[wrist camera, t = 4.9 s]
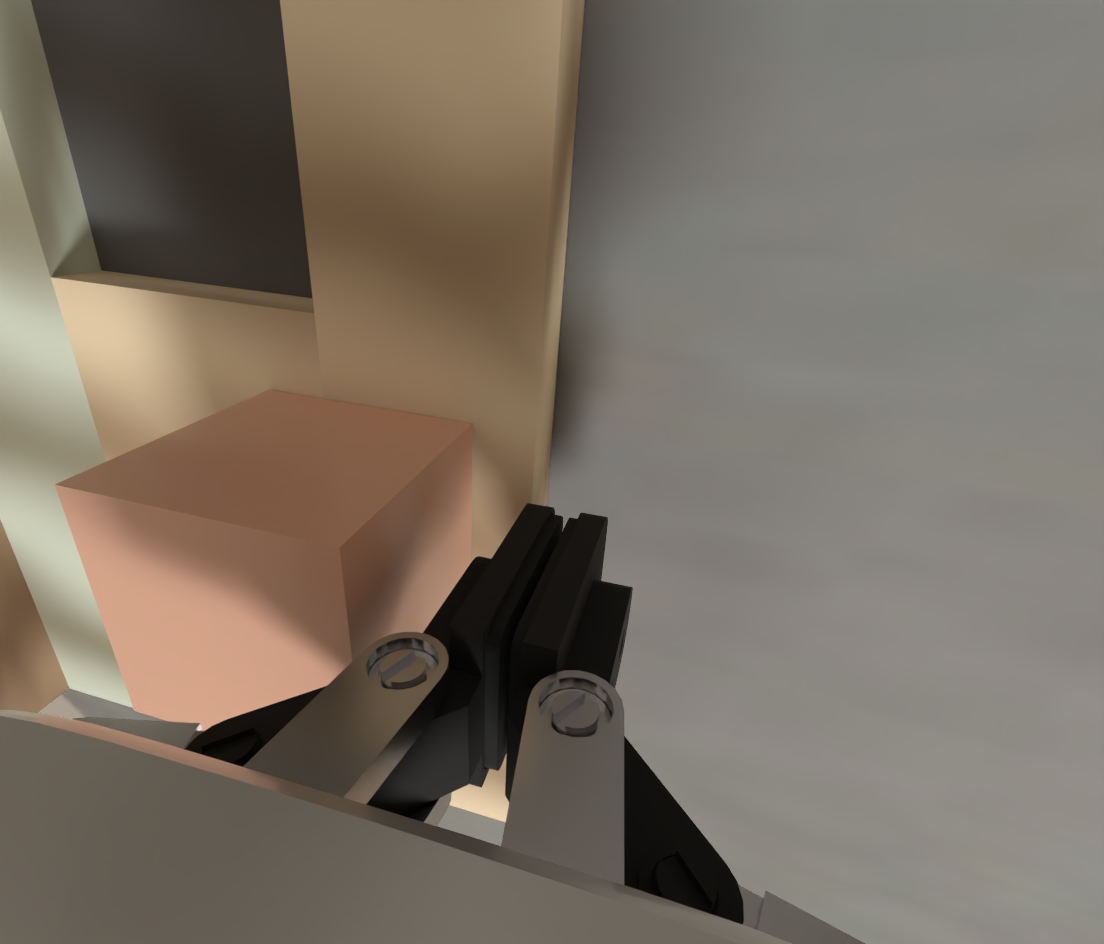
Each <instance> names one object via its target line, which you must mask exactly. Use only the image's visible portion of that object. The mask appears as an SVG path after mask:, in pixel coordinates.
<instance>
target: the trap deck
mask: <svg viewBox="0 0 1104 944" xmlns="http://www.w3.org/2000/svg"><path fill="white" fill-rule="evenodd" d="M584 5H585V0H0V710H20V711H27V712H34V713H38V712H39V711H40V710H42V709H43V708H44V707H45V706H47V705H48V704H49V703H51V702H52V701H53V700H54V699H56V698H57V697H59V696H60V695H61V694H62V693H64V692H65V691H66V690H68V689H69V688H71V689H74V690H77V691H80V692H84V693H87V694H90V695H93V696H97V697H100V698H103V699H106V700H110V701H113V702H116V703H119V704H123V705H126V706H129V707H132V708H133V705H132V703H131V700H130V697H129V694H128V691H127V688H126V686H125V683H124V680H123V677H122V674H121V671H120V669H119V666H118V663H117V660H116V657H115V655H114V652H113V649H112V646H111V643H110V640H109V638H108V635H107V632H106V629H105V626H104V623H103V621H102V618H101V615H100V612H99V609H98V606H97V604H96V601H95V598H94V595H93V592H92V589H91V587H90V584H89V581H88V578H87V575H86V572H85V570H84V567H83V564H82V561H81V558H80V555H79V553H78V550H77V547H76V544H75V541H74V538H73V536H72V533H71V530H70V527H69V524H68V522H67V519H66V516H65V513H64V510H63V507H62V505H61V502H60V499H59V496H58V493H57V490H56V488H55V485H54V484H57V483H59V482H61V481H63V480H66V479H68V478H70V477H73V476H75V475H77V474H79V473H82V472H84V471H86V470H88V469H91V468H93V467H95V466H97V465H100V464H102V463H104V462H106V461H109V460H111V459H113V458H115V457H118V456H120V455H122V454H124V453H127V452H129V451H131V450H133V449H136V448H138V447H140V446H142V445H145V444H147V443H149V442H151V441H154V440H156V439H158V438H160V437H163V436H165V435H167V434H169V433H172V432H174V431H176V430H178V429H181V428H183V427H185V426H187V425H190V424H192V423H194V422H197V421H199V420H201V419H203V418H206V417H208V416H210V415H212V414H215V413H217V412H219V411H221V410H224V409H226V408H228V407H230V406H233V405H235V404H237V403H239V402H242V401H244V400H246V399H248V398H251V397H253V396H255V395H257V394H260V393H262V392H264V391H266V390H275V391H281V392H287V393H293V394H299V395H306V396H312V397H318V398H324V399H330V400H336V401H342V402H348V403H354V404H360V405H366V406H372V407H378V408H384V409H390V410H396V411H402V412H408V413H414V414H420V415H426V416H432V417H438V418H444V419H450V420H456V421H462V422H468V423H472V552H471V562H472V561H473V560H474V558H475V557H478V556H480V557H485V558H490V559H492V557H493V556H494V554H495V552H496V551H497V549H498V548H499V546H500V545H501V543H502V541H503V540H504V538H505V537H506V535H507V534H508V532H509V530H510V529H511V527H512V526H513V524H514V523H515V521H516V520H517V518H518V516H519V515H520V513H521V512H522V510H523V509H524V507H525V505H526V504H527V503H531V504H536V505H542V506H547V494H548V480H549V467H550V454H551V441H552V428H553V414H554V401H555V388H556V375H557V362H558V348H559V335H560V322H561V309H562V296H563V282H564V269H565V256H566V243H567V230H568V216H569V203H570V190H571V177H572V164H573V150H574V137H575V124H576V111H577V98H578V84H579V71H580V58H581V45H582V32H583V18H584ZM505 782H506V756H505V758H504V761H503V763H502V766H501V768H500V769H499V770H498V771H496V770H493V769H489V771H488V774H487V776H486V779H485V781H484V784H483V786H482V788H481V787H478V786H474V785H471V784H469V785H467V786H464V787H462V788H460V789H458V790H456V791H454V792H452V796H451V802H450V804H449V805H451V806H455V807H458V808H461V809H464V810H468V811H471V812H474V813H477V814H481V815H484V816H487V817H490V818H494V819H497V820H500V821H503V822H506V818H507V812H508V807H509V801H508V800H507V798H506V796H505Z"/></svg>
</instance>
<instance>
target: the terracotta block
mask: <svg viewBox="0 0 1104 944" xmlns="http://www.w3.org/2000/svg"><path fill="white" fill-rule="evenodd" d="M54 485H55V488H56V490H57V493H58V496H59V499H60V502H61V505H62V507H63V510H64V513H65V516H66V519H67V522H68V524H69V527H70V530H71V533H72V536H73V538H74V541H75V544H76V547H77V550H78V553H79V555H80V558H81V561H82V564H83V567H84V570H85V572H86V575H87V578H88V581H89V584H90V587H91V589H92V592H93V595H94V598H95V601H96V604H97V606H98V609H99V612H100V615H101V618H102V621H103V623H104V626H105V629H106V632H107V635H108V638H109V640H110V643H111V646H112V649H113V652H114V655H115V657H116V660H117V663H118V666H119V669H120V671H121V674H122V677H123V680H124V683H125V686H126V688H127V691H128V694H129V697H130V700H131V703H132V705H133V708H134V711H136V712H140V713H143V714H146V715H150V716H153V717H156V718H159V719H163V720H166V721H169V722H187V723H200V724H201V727H202V731H205V730H207V729H208V728H210V727H211V726H213V725H215V724H218V723H220V722H222V721H224V720H227V719H229V718H232V717H235V716H238V715H241V714H244V713H247V712H250V711H253V710H256V709H259V708H262V707H265V706H268V705H271V704H274V703H277V702H280V701H283V700H286V699H289V698H292V697H295V696H298V695H301V694H304V693H307V692H310V691H313V690H316V689H319V688H322V687H325V686H327V685H328V684H329V683H330V682H332V681H333V680H334V679H335V678H336V677H337V676H338V675H339V674H340V673H341V672H342V671H343V670H344V669H345V668H346V667H347V666H348V665H349V664H350V663H351V662H352V661H353V660H354V659H355V658H356V657H358V656H359V655H360V654H361V653H362V652H363V651H364V650H365V649H366V648H367V647H368V646H370V645H371V644H372V643H374V642H375V641H376V640H378V639H381V638H383V637H385V636H388V635H390V634H395V633H400V632H419V633H423V632H424V630H425V629H426V628H427V626H428V625H429V623H430V622H431V620H432V619H433V617H434V616H435V614H436V613H437V612H438V610H439V609H440V607H441V606H442V604H443V603H444V601H445V600H446V598H447V597H448V595H449V594H450V593H451V591H452V590H453V588H454V587H455V585H456V584H457V582H458V581H459V579H460V578H461V577H462V575H463V574H464V572H465V571H466V569H467V568H468V566H469V565H470V563H471V552H472V423H468V422H462V421H456V420H450V419H444V418H438V417H432V416H426V415H420V414H414V413H408V412H402V411H396V410H390V409H384V408H378V407H372V406H366V405H360V404H354V403H348V402H342V401H336V400H330V399H324V398H318V397H312V396H306V395H299V394H293V393H287V392H281V391H275V390H266V391H264V392H262V393H260V394H257V395H255V396H253V397H251V398H248V399H246V400H244V401H242V402H239V403H237V404H235V405H233V406H230V407H228V408H226V409H224V410H221V411H219V412H217V413H215V414H212V415H210V416H208V417H206V418H203V419H201V420H199V421H197V422H194V423H192V424H190V425H187V426H185V427H183V428H181V429H178V430H176V431H174V432H172V433H169V434H167V435H165V436H163V437H160V438H158V439H156V440H154V441H151V442H149V443H147V444H145V445H142V446H140V447H138V448H136V449H133V450H131V451H129V452H127V453H124V454H122V455H120V456H118V457H115V458H113V459H111V460H109V461H106V462H104V463H102V464H100V465H97V466H95V467H93V468H91V469H88V470H86V471H84V472H82V473H79V474H77V475H75V476H73V477H70V478H68V479H66V480H63V481H61V482H59V483H57V484H54Z"/></svg>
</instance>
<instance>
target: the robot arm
mask: <svg viewBox="0 0 1104 944" xmlns="http://www.w3.org/2000/svg"><path fill="white" fill-rule="evenodd" d="M607 524H608V518H607V517H603V516H597V515H591V514H586V513H580V515H579V517H578V519H574V518H569V519H568V521H567V523H566V526H565V528H564V530H563V532H562V528H563V517H562V516H558V515H555V510H554V508H553V507H547V506H542V505H536V504H531V503H527V504H526V505H525V507H524V509H523V510H522V512H521V513H520V515H519V516H518V518H517V520H516V521H515V523H514V524H513V526H512V527H511V529H510V530H509V532H508V534H507V535H506V537H505V538H504V540H503V541H502V543H501V545H500V546H499V548H498V549H497V551H496V552H495V554H494V556H493V557H492V559H490V558H485V557H480V556H478V557H475V558H474V560H473V561H472V562H471V563H470V565H469V566H468V568H467V569H466V571H465V572H464V574H463V575H462V577H461V578H460V579H459V581H458V582H457V584H456V585H455V587H454V588H453V590H452V591H451V593H450V594H449V595H448V597H447V598H446V600H445V601H444V603H443V604H442V606H441V607H440V609H439V610H438V612H437V613H436V614H435V616H434V617H433V619H432V620H431V622H430V623H429V625H428V626H427V628H426V629H425V630H424V632H423V633H419V632H400V633H395V634H390V635H388V636H385V637H383V638H381V639H378V640H376V641H375V642H374V643H372V644H371V645H370V646H368V647H367V648H366V649H365V650H364V651H363V652H362V653H361V654H360V655H359V656H358V657H356V658H355V659H354V660H353V661H352V662H351V663H350V664H349V665H348V666H347V667H346V668H345V669H344V670H343V671H342V672H341V673H340V674H339V675H338V676H337V677H336V678H335V679H334V680H333V681H332V682H330V683H329V684H328V685H327V686H325V687H322V688H319V689H316V690H313V691H310V692H307V693H304V694H301V695H298V696H295V697H292V698H289V699H286V700H283V701H280V702H277V703H274V704H271V705H268V706H265V707H262V708H259V709H256V710H253V711H250V712H247V713H244V714H241V715H238V716H235V717H232V718H229V719H227V720H224V721H222V722H220V723H218V724H215V725H213V726H211V727H210V728H208V729H207V730H205V731H202V727H201V724H200V723H187V722H168V721H149V720H131V719H112V718H93V717H86V718H75V719H70V718H65V717H60V716H56V715H48V714H41V713H34V712H27V711H20V710H0V944H865V943H863V942H861V941H859V940H857V939H855V938H854V937H852V936H850V935H848V934H846V933H844V932H842V931H841V930H839V929H837V928H835V927H833V926H831V925H829V924H827V923H826V922H824V921H822V920H820V919H818V918H816V917H814V916H812V915H811V914H809V913H807V912H805V911H803V910H801V909H799V908H798V907H796V906H794V905H792V904H790V903H788V902H786V901H784V900H783V899H781V898H779V897H777V896H775V895H773V894H771V893H769V892H768V891H765V894H764V897H763V898H762V897H760V896H758V895H756V894H754V893H752V892H751V891H749V890H747V889H745V888H743V887H741V886H740V885H738V883H737V881H736V879H735V877H734V876H733V874H732V873H731V871H730V869H729V868H728V866H727V864H726V863H725V862H724V861H723V859H722V858H721V857H720V856H719V854H718V853H717V852H716V851H715V849H714V848H713V847H712V845H711V844H710V843H709V842H708V840H707V839H706V838H705V837H704V835H703V834H702V833H701V832H700V830H699V829H698V828H697V827H696V825H695V824H694V823H693V822H692V820H691V819H690V818H689V817H688V815H687V814H686V813H685V812H684V810H683V809H682V808H681V807H680V805H679V804H678V803H677V802H676V800H675V799H674V798H673V797H672V795H671V794H670V793H669V791H668V790H667V789H666V788H665V786H664V785H663V784H662V783H661V781H660V780H659V779H658V778H657V776H656V775H655V774H654V773H653V771H652V770H651V769H650V768H649V766H648V765H647V764H646V763H645V761H644V760H643V759H642V758H641V756H640V755H639V754H638V753H637V751H636V750H635V749H634V748H633V746H632V745H631V744H630V743H629V741H628V740H627V739H626V737H625V736H624V709H623V703H622V699H621V698H620V696H619V694H618V693H617V691H616V689H615V685H616V681H617V676H618V672H619V667H620V663H621V658H622V653H623V648H624V643H625V637H626V631H627V625H628V619H629V612H630V605H631V598H632V587H628V586H623V585H618V584H613V583H608V582H603V581H601V577H602V568H603V559H604V551H605V542H606V533H607ZM505 756H506V782H505V796H506V798H507V800H508V801H509V807H508V812H507V818H506V823H505V828H504V834H503V839H502V845H501V846H498V845H495V844H492V843H488V842H485V841H482V840H479V839H476V838H472V837H469V836H466V835H463V834H460V833H456V832H453V831H450V830H447V829H443V828H440V827H437V825H438V824H439V822H440V820H441V819H442V817H443V816H444V814H445V813H446V811H447V808H448V806H449V804H450V802H451V796H452V792H454V791H456V790H458V789H460V788H462V787H464V786H467V785H469V784H471V785H474V786H478V787H481V788H482V786H483V784H484V781H485V779H486V776H487V774H488V771H489V769H493V770H496V771H498V770H499V769H500V768H501V766H502V763H503V761H504V758H505Z"/></svg>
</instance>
